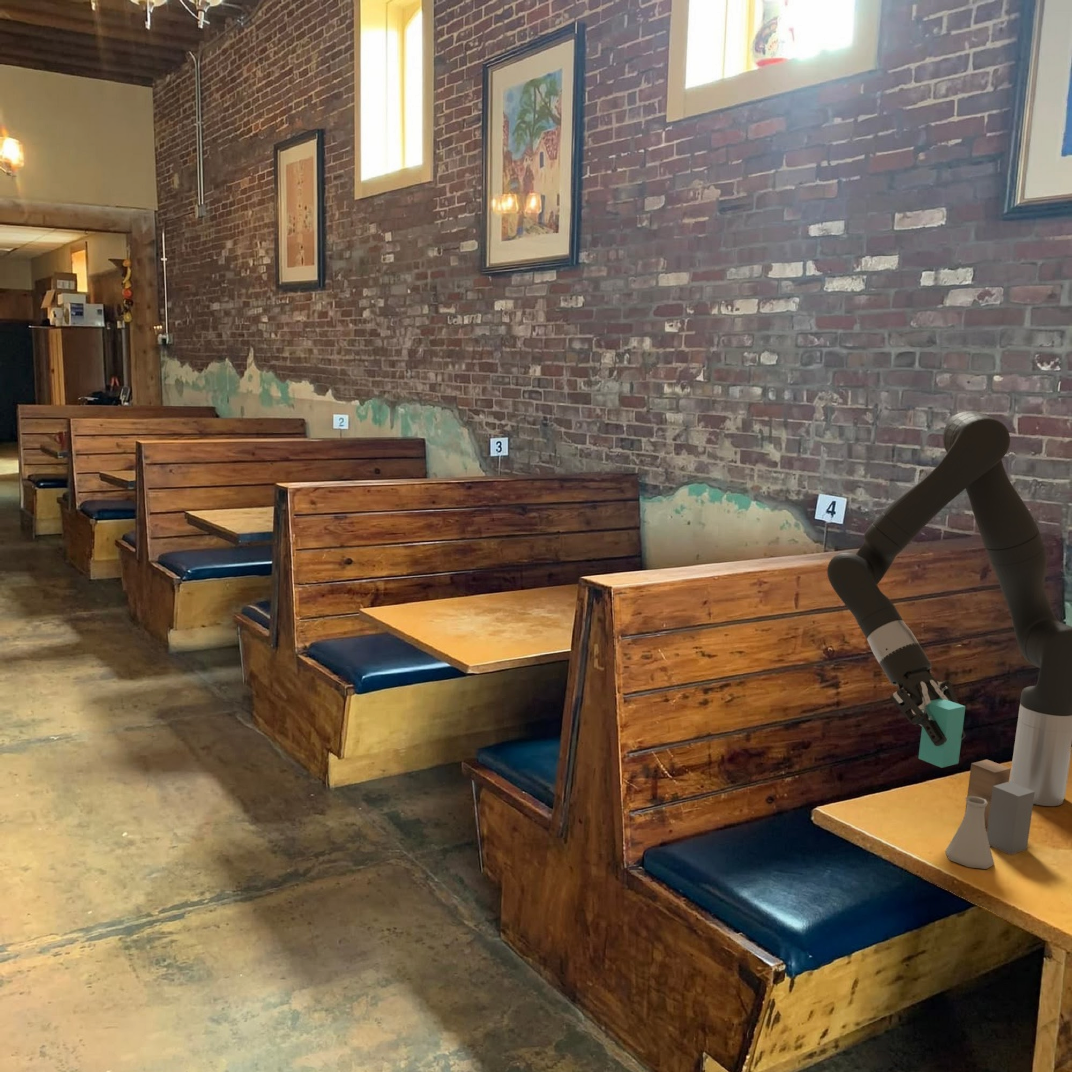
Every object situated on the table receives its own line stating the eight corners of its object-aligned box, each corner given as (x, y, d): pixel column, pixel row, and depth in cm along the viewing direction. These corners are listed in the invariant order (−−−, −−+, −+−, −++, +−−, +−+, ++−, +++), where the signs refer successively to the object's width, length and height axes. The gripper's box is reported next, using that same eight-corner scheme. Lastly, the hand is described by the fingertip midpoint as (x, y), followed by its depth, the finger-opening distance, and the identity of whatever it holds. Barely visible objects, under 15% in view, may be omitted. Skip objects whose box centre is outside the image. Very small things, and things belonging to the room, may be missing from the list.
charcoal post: (1001, 838, 167) (1009, 781, 165) (1026, 849, 163) (1034, 791, 161) (985, 843, 164) (993, 786, 163) (1010, 854, 161) (1018, 796, 159)
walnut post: (980, 812, 177) (986, 759, 175) (1003, 822, 173) (1010, 768, 171) (964, 817, 174) (971, 763, 173) (987, 827, 170) (995, 772, 169)
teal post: (935, 754, 170) (941, 698, 169) (958, 763, 166) (965, 706, 165) (918, 758, 168) (925, 701, 166) (941, 767, 164) (948, 709, 162)
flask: (942, 862, 157) (949, 802, 155) (947, 844, 163) (954, 787, 162) (992, 874, 153) (1000, 813, 152) (995, 856, 160) (1003, 797, 158)
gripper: (885, 645, 166) (940, 738, 158) (939, 637, 174) (993, 725, 166) (857, 667, 172) (908, 758, 164) (910, 659, 179) (961, 745, 171)
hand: (951, 741), depth 165 cm, fingers closed on teal post, 4 cm apart
